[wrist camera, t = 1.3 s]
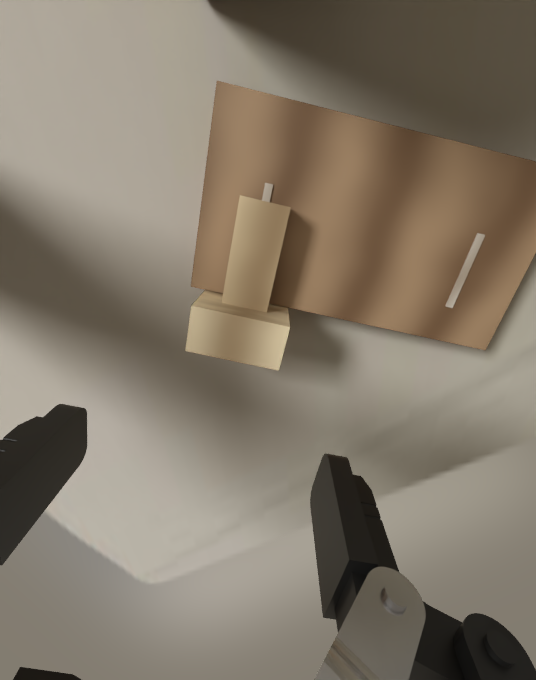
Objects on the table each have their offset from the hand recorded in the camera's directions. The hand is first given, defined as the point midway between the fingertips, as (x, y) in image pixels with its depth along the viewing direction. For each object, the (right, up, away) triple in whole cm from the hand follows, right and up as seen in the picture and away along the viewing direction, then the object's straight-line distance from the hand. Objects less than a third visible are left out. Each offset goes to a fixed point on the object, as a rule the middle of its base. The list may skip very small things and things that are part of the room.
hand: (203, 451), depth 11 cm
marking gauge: (+1, +9, +14) cm, 17 cm away
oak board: (+9, +12, +12) cm, 19 cm away
